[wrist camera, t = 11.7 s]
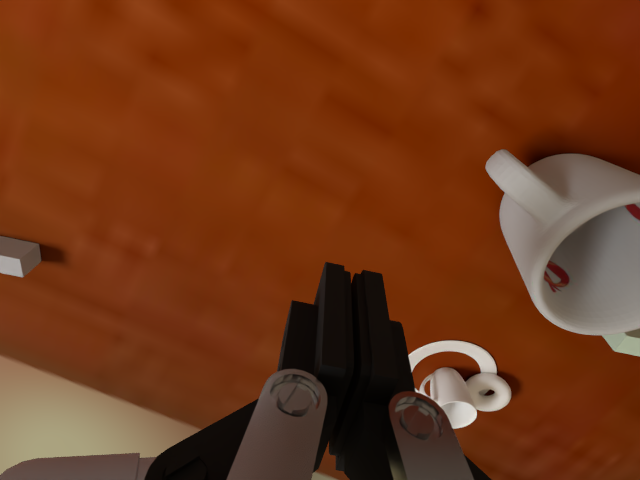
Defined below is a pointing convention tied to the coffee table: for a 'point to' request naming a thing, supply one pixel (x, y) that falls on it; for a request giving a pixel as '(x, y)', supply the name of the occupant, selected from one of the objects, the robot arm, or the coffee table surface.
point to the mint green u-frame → (625, 342)
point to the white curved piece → (463, 383)
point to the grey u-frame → (18, 256)
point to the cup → (574, 238)
